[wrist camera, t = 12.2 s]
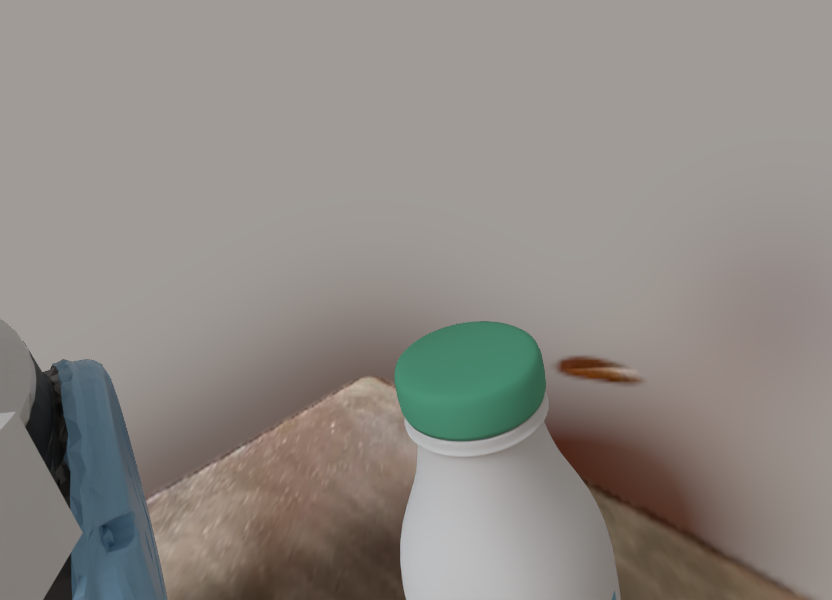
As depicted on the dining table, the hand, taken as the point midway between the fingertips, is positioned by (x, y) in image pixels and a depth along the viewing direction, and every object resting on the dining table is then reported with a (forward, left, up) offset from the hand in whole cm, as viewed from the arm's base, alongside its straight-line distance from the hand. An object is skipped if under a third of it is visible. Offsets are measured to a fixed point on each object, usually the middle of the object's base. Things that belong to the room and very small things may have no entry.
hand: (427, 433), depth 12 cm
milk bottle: (-6, +8, -25) cm, 27 cm away
